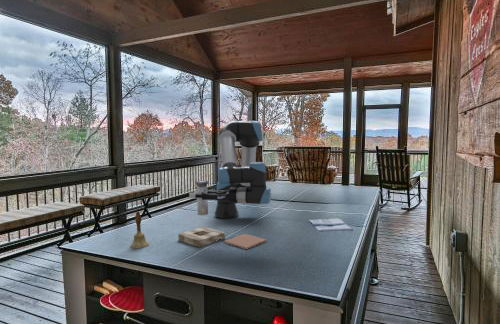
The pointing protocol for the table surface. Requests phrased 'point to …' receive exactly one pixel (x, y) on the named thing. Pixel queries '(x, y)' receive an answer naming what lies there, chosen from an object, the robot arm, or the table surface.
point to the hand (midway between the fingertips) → (192, 194)
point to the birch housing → (201, 236)
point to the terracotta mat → (245, 241)
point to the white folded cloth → (335, 224)
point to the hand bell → (139, 234)
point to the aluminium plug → (201, 204)
